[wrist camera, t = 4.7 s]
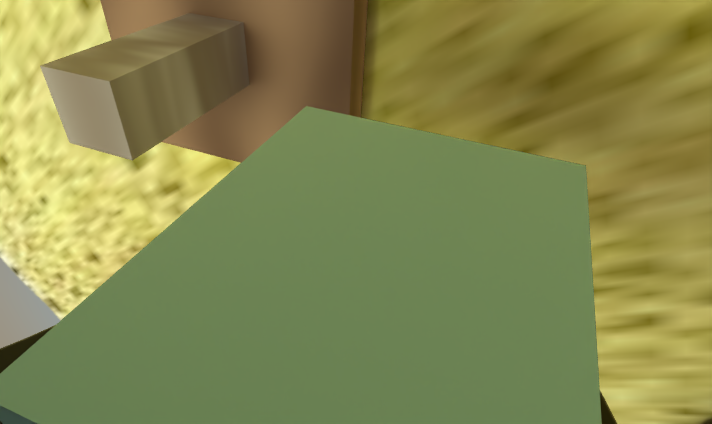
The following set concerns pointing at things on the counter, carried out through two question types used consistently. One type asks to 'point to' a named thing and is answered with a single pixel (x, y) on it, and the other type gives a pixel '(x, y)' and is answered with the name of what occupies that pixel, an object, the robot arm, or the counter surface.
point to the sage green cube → (341, 294)
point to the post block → (209, 73)
